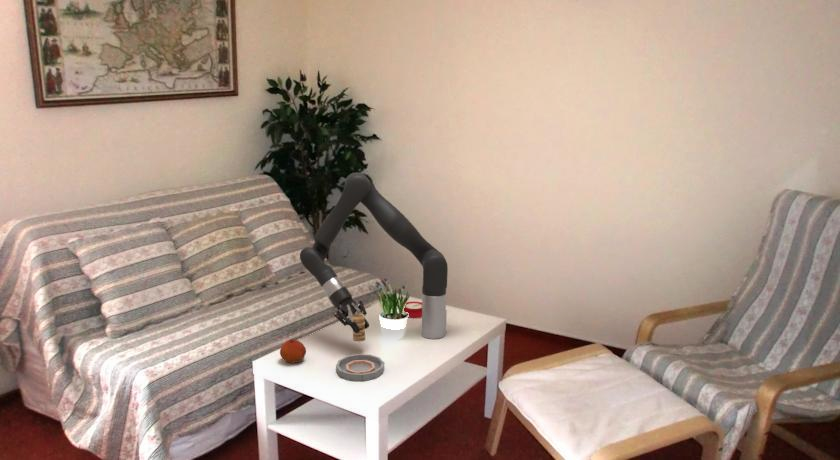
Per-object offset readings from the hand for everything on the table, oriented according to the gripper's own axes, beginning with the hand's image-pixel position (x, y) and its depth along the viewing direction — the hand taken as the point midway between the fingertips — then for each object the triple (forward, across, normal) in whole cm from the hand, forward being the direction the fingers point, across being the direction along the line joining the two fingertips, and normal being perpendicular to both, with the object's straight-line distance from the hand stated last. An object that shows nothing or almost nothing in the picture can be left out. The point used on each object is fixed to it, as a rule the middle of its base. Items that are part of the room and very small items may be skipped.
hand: (362, 329), depth 237 cm
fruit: (-5, -19, +18) cm, 27 cm away
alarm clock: (+2, +45, +12) cm, 47 cm away
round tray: (+12, -11, +1) cm, 17 cm away
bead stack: (+2, 0, +4) cm, 5 cm away
